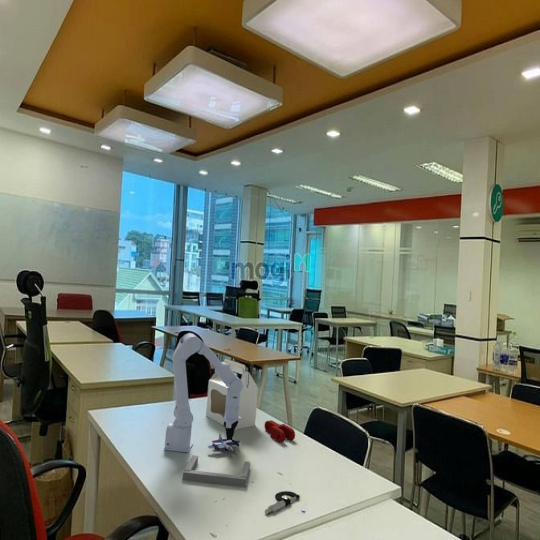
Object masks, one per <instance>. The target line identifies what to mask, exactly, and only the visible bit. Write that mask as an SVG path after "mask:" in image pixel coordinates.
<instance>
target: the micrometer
mask: <svg viewBox="0 0 540 540" xmlns="http://www.w3.org/2000/svg"><path fill="white" fill-rule="evenodd" d="M283 496H284V497H283ZM288 496H289V497H288ZM290 497H291V498H290ZM274 498H275V500H276V501H277V502H275V503H273V504H271V505H269V506H268V507H267V508H266V509H265V510H264V514H265V515H268V514H270V513H271V514H274V513H276V512H278V511H280V510H282V509H284V508H286V507H288V506H290V505H292V502H293V501H294V500H298V499H300V498H301V495H300V494H297V493H295V492H294V491H287V490H286V491H285V490H284V491H279V492H277V493H276V494H275V495H274Z"/></svg>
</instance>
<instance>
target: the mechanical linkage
mask: <svg viewBox="0 0 540 540" xmlns="http://www.w3.org/2000/svg"><path fill="white" fill-rule="evenodd" d="M264 430H265V432H266V433H268V434H269V435H270V439H272V440H274V441H276V442H277V443H279V444H281V443H285V441H286V440H287V441H288V442H290V441H293V440H294V439H296V438H295V437H296V431H295V430H294V428H293V427H290V426H289V425H287V424H285V423H281V424H280V423H278V422H276V421H274V420H272V419H271V420H266V421H265V422H264ZM285 438H286V439H285Z"/></svg>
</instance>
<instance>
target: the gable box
mask: <svg viewBox="0 0 540 540" xmlns="http://www.w3.org/2000/svg"><path fill="white" fill-rule="evenodd" d="M221 362H225V363H226V364H229V365H230V368H231V369H232V371H233V372H234V373H236V374H240V375H241V378H240V380H241V381H242V384H243V389H242V390H241V391H240V405H239V417H241V420H238V424H237V426H236V428H235V431H237V430H240V429H245V428H249V427H253V426H255V425H256V416H257V407H258V394H259V387H258V385H257V384H256V382H255V380H254V379H253V377H252V375H251V373H250V372H249V371H247V365H246V364H243V363H241V362H237V361H234V360H231V359H228V358H224V360H221ZM227 388H228V387H227V386H226V384H225V383H224V382H223V381H222V380H221V379H220V378H219V377H218V375H217V374H216V373H215V372H214V373H213V374H212V376H211V377H210V378H209V380H208V385H207V396H206V397H207V400H206V408H205V409H206V411H205V416H206V417H208V418H209V419H211V420H213V421H215V422H216V423H217V424H221V425H222V426H224V421H225V420H224V416H225V406H226V394H227Z"/></svg>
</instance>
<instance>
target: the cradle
mask: <svg viewBox="0 0 540 540" xmlns="http://www.w3.org/2000/svg"><path fill="white" fill-rule="evenodd" d="M198 463H199V455H192V456H191V458H190V459H189V461H188V463H187V465H186V466H185V468H184V470H183V471H182V481H189V482H196V483H197V482H198V483H205V484H213V485H223V486H233V487H241V488H246V486H247V485H246V484H247V482H248V478H249V477H248V476H249V472H250V467H251V461H248V460H246V461H245V460H244V462H243V465H242V469H241V472H240V475H237V474H230V473H229V474H227V473H220V472H219V473H218V472H210V471H201V470H195V469H196V467H197V464H198Z"/></svg>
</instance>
